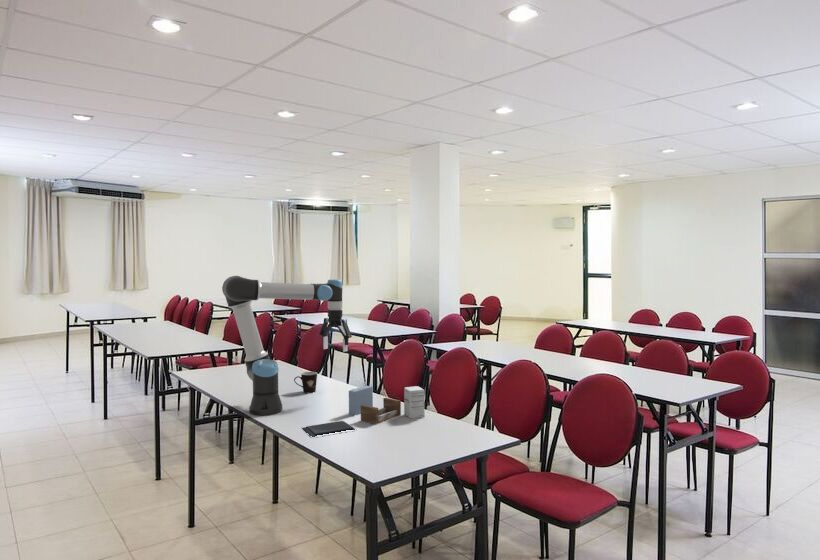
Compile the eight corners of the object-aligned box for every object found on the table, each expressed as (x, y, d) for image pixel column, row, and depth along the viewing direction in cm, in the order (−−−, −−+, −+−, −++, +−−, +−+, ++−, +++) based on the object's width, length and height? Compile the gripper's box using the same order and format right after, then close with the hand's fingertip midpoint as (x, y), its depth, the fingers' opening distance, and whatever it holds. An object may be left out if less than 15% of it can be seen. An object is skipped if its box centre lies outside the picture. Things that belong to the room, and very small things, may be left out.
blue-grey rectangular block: (355, 415, 254) (355, 391, 254) (348, 414, 256) (348, 390, 256) (372, 409, 263) (372, 386, 263) (366, 408, 266) (366, 385, 265)
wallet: (310, 435, 223) (300, 424, 236) (311, 439, 223) (300, 429, 236) (357, 427, 232) (345, 418, 245) (357, 432, 232) (345, 422, 245)
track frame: (376, 424, 240) (376, 408, 240) (360, 420, 246) (360, 405, 246) (400, 415, 254) (400, 400, 254) (385, 412, 259) (385, 397, 259)
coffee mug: (319, 390, 303) (319, 371, 303) (315, 393, 295) (314, 375, 294) (298, 389, 304) (298, 371, 304) (293, 393, 296) (293, 374, 295)
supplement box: (403, 414, 255) (403, 387, 254) (418, 412, 258) (418, 385, 257) (409, 418, 248) (409, 390, 248) (425, 417, 251) (424, 389, 250)
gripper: (358, 310, 284) (358, 351, 285) (322, 307, 298) (322, 347, 299) (348, 311, 278) (348, 353, 279) (312, 308, 292) (312, 348, 293)
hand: (335, 350), depth 289 cm, fingers open, 13 cm apart
